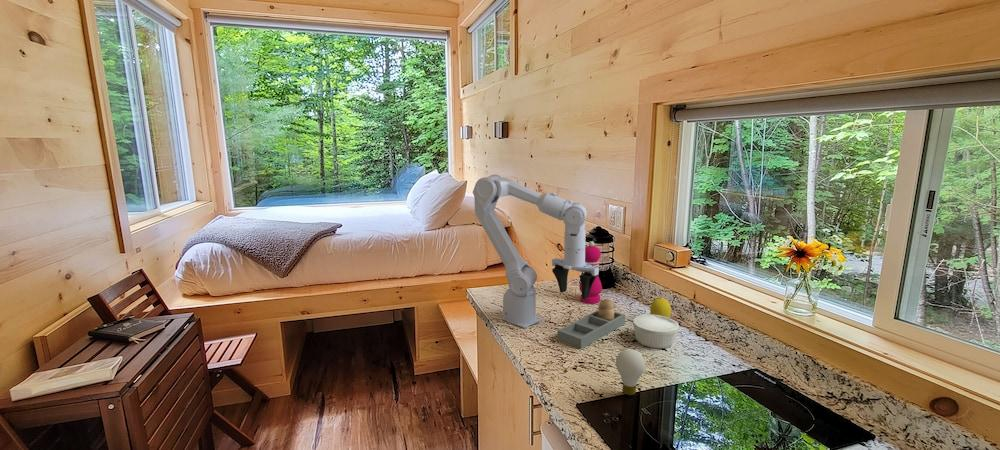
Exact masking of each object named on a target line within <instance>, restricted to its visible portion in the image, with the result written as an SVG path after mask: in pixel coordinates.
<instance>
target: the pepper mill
mask: <svg viewBox="0 0 1000 450" xmlns="http://www.w3.org/2000/svg"><path fill="white" fill-rule="evenodd" d="M601 256H602V252H601V250H600V248H599V247H598V246H596V245H595V242H594V241H591V240H590V241H589V242H588V246H587V245H586V246H585V263H587V264H590V265H592V266H595V267H598V268H599V266H600V261H599V259H600V258H601ZM579 283H580V284H579V287H578V288H579V291H580V293H581V294H580V301H581V302H582V303H584V304H590V305H595V304H599V303H600V302H601V295H600V294H601V292H602V291H603V285H602V282H601V279H600V277H599V274H598V275H597V277H596V279H595V281H594V282H593V285H592V287H591V290H590V293H589V297H588V298H586V299H582V285H581V281H580V282H579Z"/></svg>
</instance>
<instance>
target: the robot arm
mask: <svg viewBox="0 0 1000 450" xmlns="http://www.w3.org/2000/svg"><path fill="white" fill-rule="evenodd" d="M472 194H473V198H474V200H473V201H474V214H475V216H476V218H477V219H478V221H479V223H480V224H481V226H482V228H483V230H484V232H485V233H486V236H488V238H489V241H490V242H491V244H492V246H493V247H494V249H495V251H496V253H497V255H498V256H499V257H500V261H502V262H501V263H502V264H503V265H504V267H505V270H504V271H505V277H506V279H507V281H508V282H507V283H508V287H509V288H508V289H507V290H506V291H504V293H503V297H502V307H503V308H502V309H503V310H502V311H503V312H502V313H503V315H502V317H501V320H503V321H506V322H507V323H510V324H513V325H515V326H518V327H521V328H523V329H525V328H528V327H531V326H533V325H535V324H537V323H539V322H541V321H542V320H543V318H542V317H539V316H537V313H536V311H537V308H536V306H537V305H536V302H537V301H536V298H537V297H536V294H537V293H536V292H537V291H536V288H535V287H534V286H535V283H536V282H537V280H538V275H537V272H536V270H535V268H533V267H532V266H530V265H529V263H528V262H527V260H525V259H524V258H523V257H521V256H520V254H519V251H518V250H517V248H516V246H515V245H514V243H513V240H512V239H511V237H510V235H509V234H508V232H507V231H506V228H505V227H504V225H503V224H502V223H503V222H501V219H500V218H499V216H498V214H497V213H496V206H497V204H498V200H499V198H500V197H507V196H511V197H514V198H516V199H520V200H523V201H525V202H527V203H530V204H533V205H535V206H536V207H537V208H538V211H539V212H540V213H542V214H545V215H548V216H550V217H552V218H554V219H557V220H558V221H563V223H564V234H563V235H564V238H563V239H564V242H563V243H564V245H563V248H564V249H563V251H564V252H563V253H564V256H563V258H558V257H555V258H552V259H551V266H552V267H553V268H552V269H551V270H552V271H551V272H552V273H553V275H554V277H555V279H556V282H557V285H558V288H559V293H564V292H567V291H568V289H567V288H568V276H569V272H570V271H569V270H572V271H576V272H581V273H582V274H579V280H580V282H581V285H582V292H581V294H582V299H586V298H588V297H589V293H590V290H591V287H592V285H593V282H594V281H595V279H596V277H597V275H598V276H599V272H600V270H599V269H600V268H599V266H598V267H595V266H592V265H590V264H587V263H585V247H586V237H587V236H586V235H587V234H586V233H587V232H586V222H585V221H586V219H587V216H588V213H587V208H586V207H585V206H584V205H582V204H581V203H580V202H574V201H573V200H571V199H568V200H567V199H564V198H562V197H560V196H557V195H558V192H557V193H556V192H554V191H551V193H550V192H545V193H540V192H537V191H536V190H533V189H530V188H529V187H527V186H524V185H523V184H520V183H518V182H516V181H514V180H512V179H510V178H508V177H505V176H501V175H500V174H499V175H498V174H491V175H489V176H485V177H481V178H479V179H478V180H477V181H476V182H475V185H474V187H473V190H472Z"/></svg>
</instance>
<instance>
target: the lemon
mask: <svg viewBox="0 0 1000 450" xmlns="http://www.w3.org/2000/svg"><path fill="white" fill-rule="evenodd" d="M649 313H650V315H660V316H664V317H667V318H670V319H671V315H672V307H671V304H670V302H669V301H668V300H667V299H665V298H664V297H663V296H662V297H661V296H660V297H658V298H655V299H654V300H653V301H652V302H651V306H650V311H649Z"/></svg>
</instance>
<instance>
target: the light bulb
mask: <svg viewBox="0 0 1000 450" xmlns="http://www.w3.org/2000/svg"><path fill="white" fill-rule="evenodd" d="M615 367H616V370H617V372H618V374H619V375H620V377H621V381H622V392H623V393H624V394H626V395H627V396H632V395H635V394H636V393H637V385H638V382H639V379H640V378H641V376H642V375H643V374H644V373H645V369H646V361H645V358H644V356H643V355H642V353H640V352H639V351H637V350H636V349H632V348H627V349H624V350H622V351H620V352H619V353H618V354H617V356H616V359H615Z"/></svg>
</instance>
